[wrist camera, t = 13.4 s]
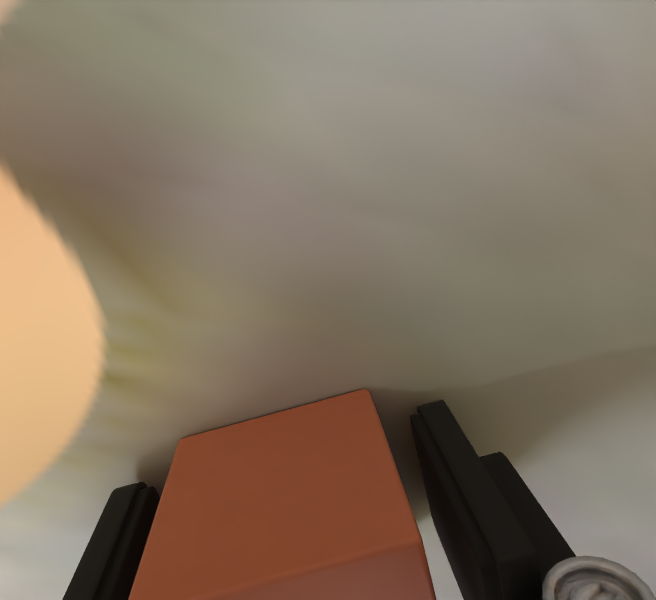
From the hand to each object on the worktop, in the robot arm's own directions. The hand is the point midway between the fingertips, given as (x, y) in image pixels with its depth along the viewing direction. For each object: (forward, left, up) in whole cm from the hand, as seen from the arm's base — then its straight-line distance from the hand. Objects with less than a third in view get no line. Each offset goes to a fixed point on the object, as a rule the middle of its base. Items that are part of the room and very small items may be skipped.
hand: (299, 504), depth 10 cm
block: (0, 0, 0) cm, 0 cm away
